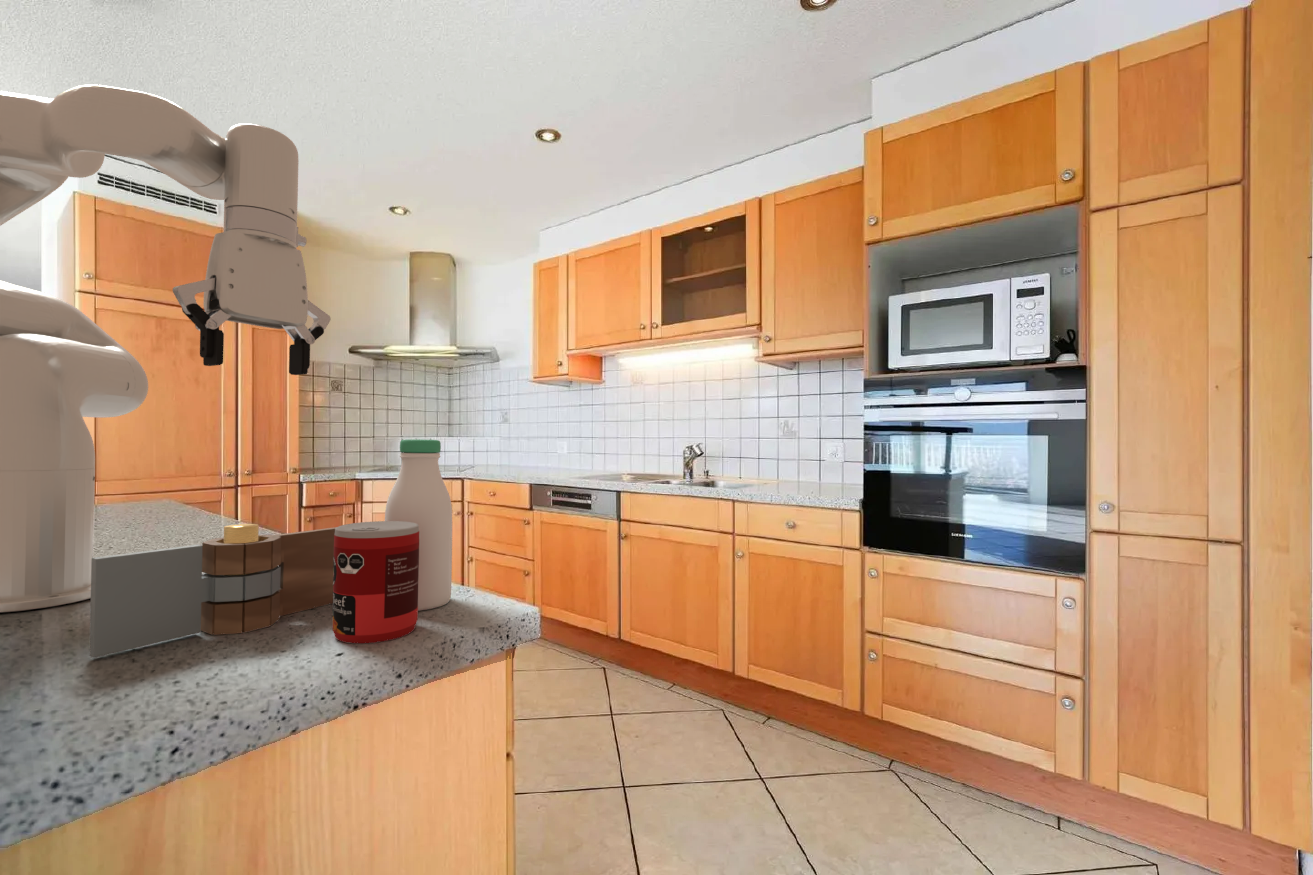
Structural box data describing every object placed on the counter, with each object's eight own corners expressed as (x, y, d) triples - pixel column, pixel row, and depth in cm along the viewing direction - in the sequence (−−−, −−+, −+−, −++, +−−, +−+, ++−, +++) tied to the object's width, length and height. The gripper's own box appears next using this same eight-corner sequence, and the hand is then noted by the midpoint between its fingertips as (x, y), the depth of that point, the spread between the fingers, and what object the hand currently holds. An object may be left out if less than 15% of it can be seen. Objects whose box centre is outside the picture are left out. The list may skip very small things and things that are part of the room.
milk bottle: (462, 604, 70) (465, 440, 70) (396, 617, 65) (400, 439, 65) (435, 592, 76) (438, 439, 76) (372, 602, 70) (376, 438, 70)
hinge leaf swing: (77, 649, 53) (80, 554, 53) (258, 609, 66) (259, 532, 66) (106, 664, 50) (108, 562, 50) (289, 618, 63) (291, 538, 63)
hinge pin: (216, 626, 61) (218, 526, 61) (247, 618, 63) (249, 523, 64) (230, 631, 59) (232, 528, 59) (262, 623, 62) (264, 525, 62)
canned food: (335, 625, 62) (337, 522, 62) (415, 617, 65) (417, 519, 65) (328, 649, 55) (330, 533, 55) (419, 638, 58) (421, 529, 58)
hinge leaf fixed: (191, 627, 60) (193, 540, 60) (338, 593, 74) (339, 523, 74) (222, 638, 57) (224, 547, 57) (369, 601, 71) (370, 527, 71)
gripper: (313, 257, 81) (311, 378, 81) (161, 213, 66) (158, 362, 66) (346, 249, 78) (343, 376, 77) (192, 201, 63) (189, 359, 62)
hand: (258, 370), depth 72 cm, fingers open, 9 cm apart
